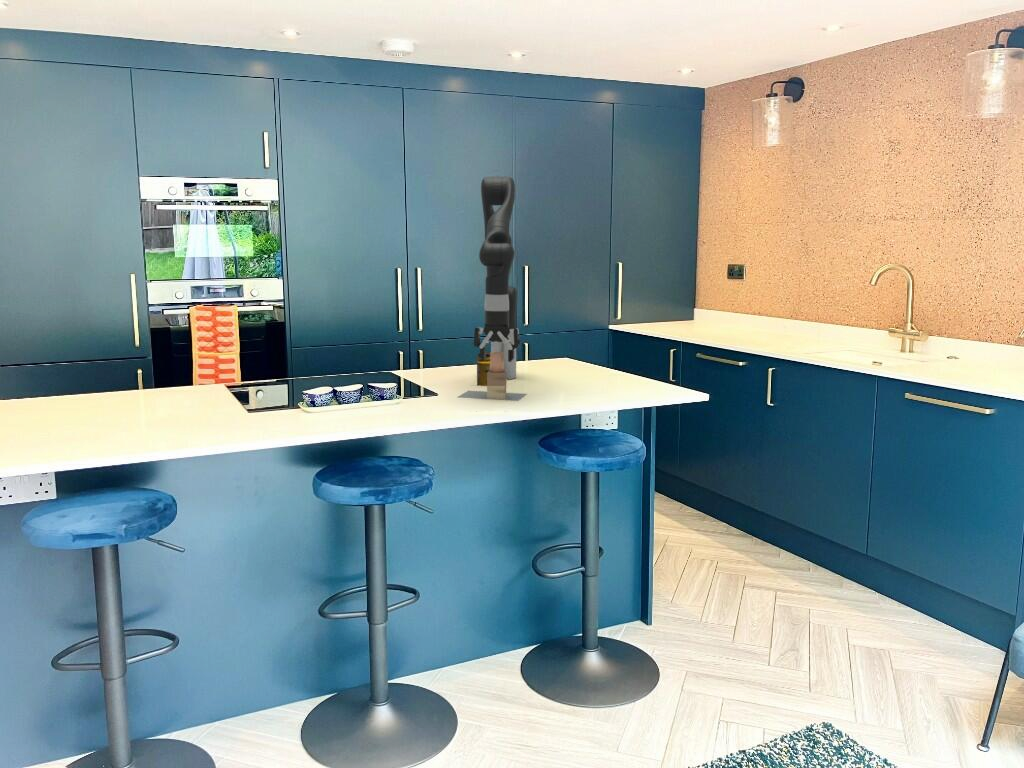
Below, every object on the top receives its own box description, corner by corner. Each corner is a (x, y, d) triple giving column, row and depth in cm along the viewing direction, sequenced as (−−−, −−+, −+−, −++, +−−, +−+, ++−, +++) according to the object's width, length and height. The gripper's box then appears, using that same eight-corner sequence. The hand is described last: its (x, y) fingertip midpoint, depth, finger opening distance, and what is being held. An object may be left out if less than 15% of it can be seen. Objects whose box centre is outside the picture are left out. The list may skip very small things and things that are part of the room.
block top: (489, 382, 265) (489, 370, 264) (506, 383, 265) (506, 370, 264) (487, 385, 260) (487, 373, 259) (504, 386, 259) (504, 373, 258)
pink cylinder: (492, 370, 264) (492, 351, 263) (505, 371, 263) (505, 352, 262) (488, 372, 260) (488, 353, 259) (501, 373, 259) (501, 353, 258)
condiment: (496, 389, 283) (496, 354, 281) (471, 390, 282) (471, 354, 280) (494, 385, 290) (494, 351, 288) (469, 386, 289) (469, 351, 287)
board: (468, 394, 274) (468, 390, 273) (527, 397, 268) (527, 393, 268) (456, 401, 262) (456, 397, 262) (518, 404, 257) (518, 400, 257)
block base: (489, 395, 266) (489, 382, 265) (506, 395, 265) (506, 383, 265) (487, 398, 260) (487, 385, 260) (504, 398, 260) (504, 386, 259)
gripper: (522, 308, 260) (522, 360, 263) (478, 307, 263) (478, 358, 266) (516, 310, 253) (515, 363, 255) (471, 309, 256) (471, 361, 259)
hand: (496, 361), depth 261 cm, fingers open, 8 cm apart
